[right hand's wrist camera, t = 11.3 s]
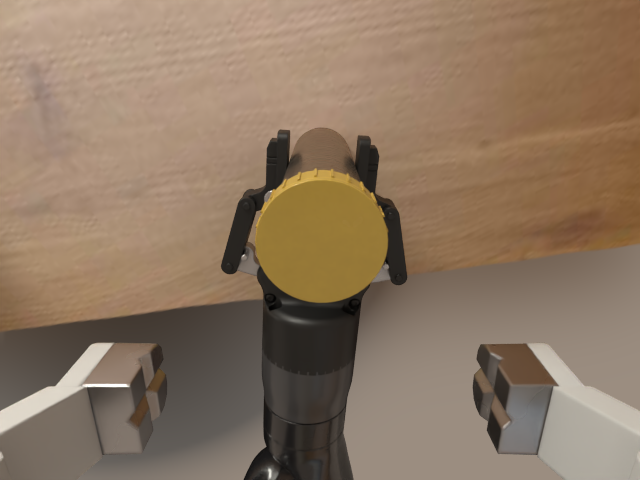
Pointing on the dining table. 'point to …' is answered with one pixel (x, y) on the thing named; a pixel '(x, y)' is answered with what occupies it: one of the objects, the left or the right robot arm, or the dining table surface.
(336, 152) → the brown cylinder
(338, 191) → the lid
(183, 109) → the dining table surface
